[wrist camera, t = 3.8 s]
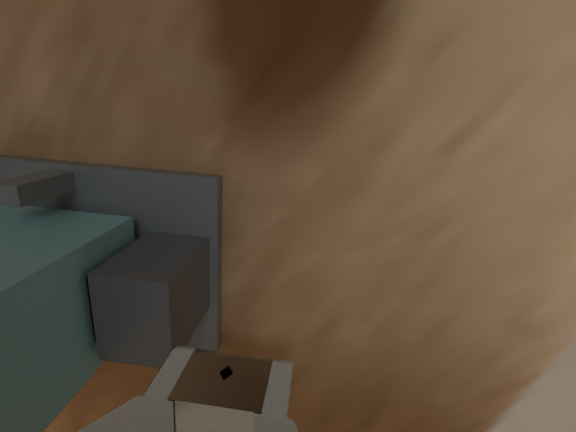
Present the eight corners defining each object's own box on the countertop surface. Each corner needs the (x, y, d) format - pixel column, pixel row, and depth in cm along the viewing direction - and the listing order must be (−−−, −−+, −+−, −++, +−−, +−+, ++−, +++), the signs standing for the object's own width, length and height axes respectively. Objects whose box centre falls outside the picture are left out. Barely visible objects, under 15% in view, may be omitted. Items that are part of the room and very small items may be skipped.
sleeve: (5, 203, 13) (-258, 282, 7) (132, 217, 12) (-37, 312, 6) (26, 304, 14) (-179, 439, 8) (141, 319, 14) (7, 472, 8)
